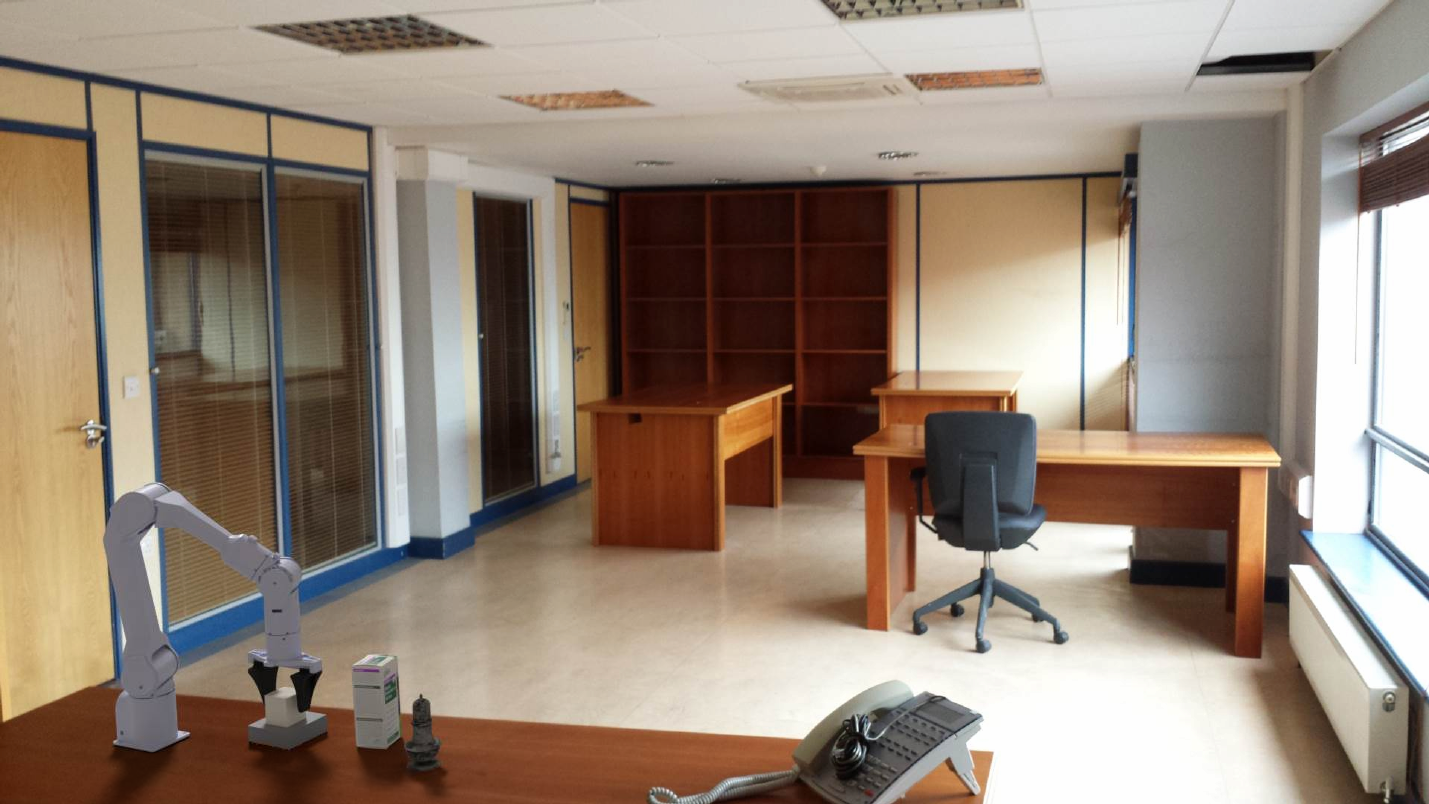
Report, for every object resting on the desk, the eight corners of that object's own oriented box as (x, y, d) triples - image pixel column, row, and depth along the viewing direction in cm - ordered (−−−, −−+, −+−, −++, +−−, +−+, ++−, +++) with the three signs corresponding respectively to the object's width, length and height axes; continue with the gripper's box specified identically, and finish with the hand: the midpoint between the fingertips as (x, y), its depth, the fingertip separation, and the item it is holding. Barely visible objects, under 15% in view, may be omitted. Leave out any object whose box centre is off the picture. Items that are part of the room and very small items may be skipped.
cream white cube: (266, 723, 202) (264, 695, 201) (285, 714, 206) (284, 686, 206) (287, 727, 200) (285, 698, 200) (306, 717, 204) (304, 689, 204)
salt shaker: (449, 760, 193) (446, 689, 192) (429, 774, 188) (426, 701, 187) (418, 755, 195) (415, 685, 194) (397, 770, 190) (394, 697, 188)
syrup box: (386, 749, 198) (383, 665, 196) (354, 747, 199) (350, 663, 197) (402, 736, 203) (399, 654, 202) (370, 734, 205) (367, 653, 203)
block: (248, 742, 201) (247, 725, 201) (286, 724, 210) (286, 707, 209) (290, 750, 198) (289, 733, 198) (327, 731, 206) (326, 714, 206)
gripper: (232, 632, 201) (237, 709, 202) (299, 642, 195) (303, 721, 197) (263, 621, 207) (267, 696, 209) (329, 630, 202) (332, 707, 203)
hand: (286, 707), depth 203 cm, fingers open, 7 cm apart
